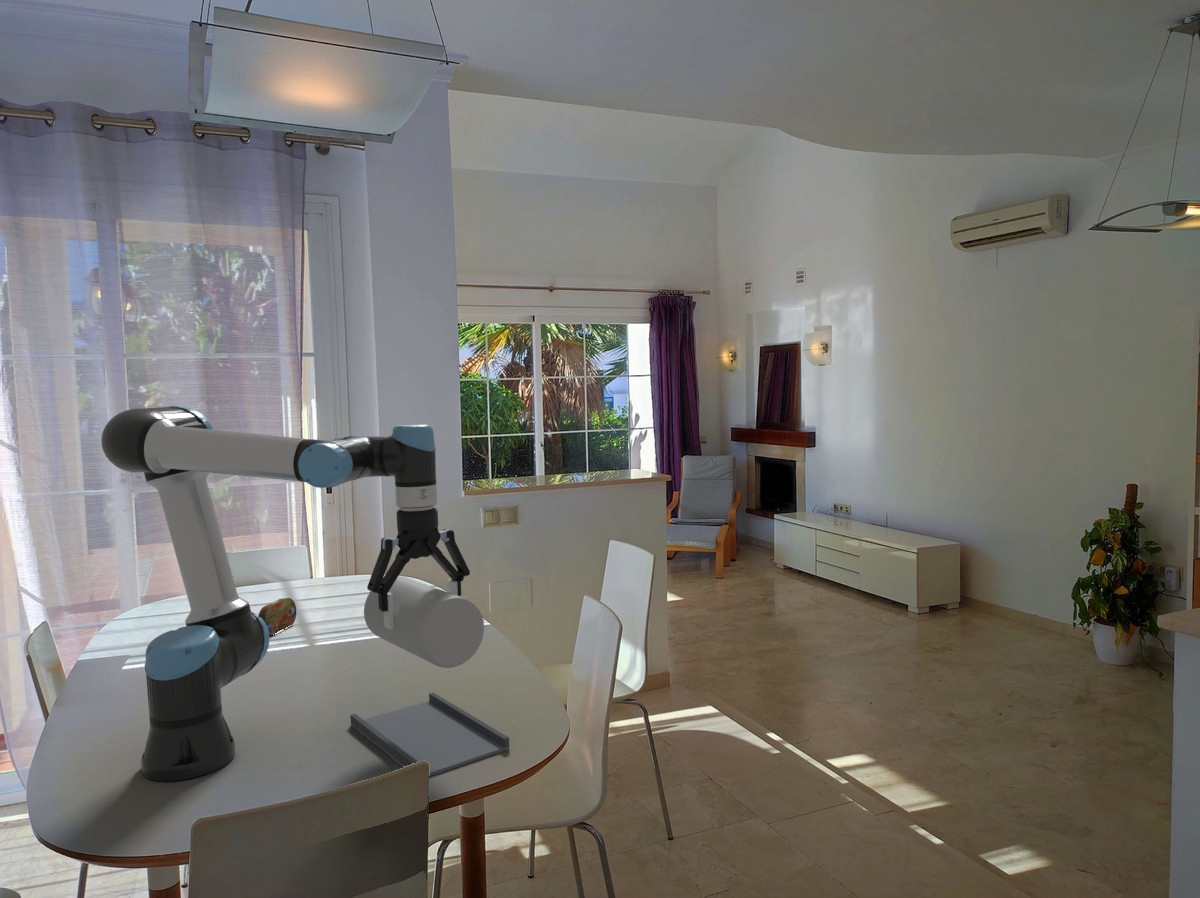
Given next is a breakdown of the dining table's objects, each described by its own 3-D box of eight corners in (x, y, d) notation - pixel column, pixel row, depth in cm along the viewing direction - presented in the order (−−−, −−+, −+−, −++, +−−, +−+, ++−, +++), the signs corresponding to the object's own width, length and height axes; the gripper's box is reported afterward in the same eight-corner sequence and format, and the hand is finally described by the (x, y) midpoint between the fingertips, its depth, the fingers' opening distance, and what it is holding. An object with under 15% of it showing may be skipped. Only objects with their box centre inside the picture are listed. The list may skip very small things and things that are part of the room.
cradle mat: (509, 749, 152) (508, 737, 152) (418, 780, 141) (417, 767, 141) (433, 702, 175) (433, 692, 175) (350, 725, 164) (350, 714, 164)
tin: (267, 639, 224) (265, 608, 223) (256, 639, 224) (254, 608, 224) (298, 623, 238) (296, 594, 238) (288, 623, 239) (286, 594, 238)
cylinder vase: (446, 585, 145) (385, 565, 164) (409, 651, 141) (352, 622, 160) (497, 616, 152) (433, 593, 171) (464, 680, 148) (402, 649, 167)
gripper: (361, 517, 144) (367, 638, 146) (484, 502, 159) (489, 612, 161) (345, 513, 150) (351, 629, 152) (465, 498, 165) (469, 604, 167)
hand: (422, 621), depth 156 cm, fingers closed on cylinder vase, 12 cm apart
